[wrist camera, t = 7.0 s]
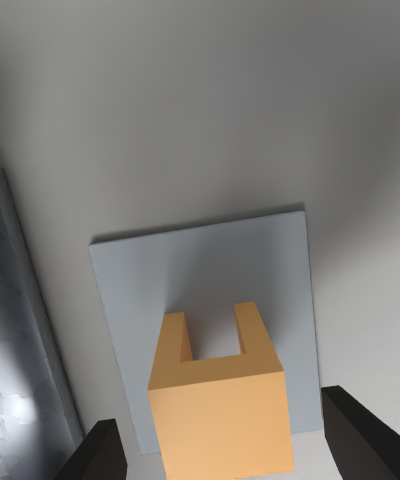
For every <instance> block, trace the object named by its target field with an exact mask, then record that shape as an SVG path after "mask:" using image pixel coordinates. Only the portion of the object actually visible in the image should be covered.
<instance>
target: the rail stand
mask: <svg viewBox="0 0 400 480" xmlns="http://www.w3.org/2000/svg"><path fill="white" fill-rule="evenodd" d="M83 440H84V436H83V432H82V429H81V426H80V422H79V419H78V416H77V412H76V409H75V406H74V402H73V399H72V396H71V393H70V389H69V386H68V383H67V379H66V376H65V373H64V369H63V366H62V363H61V360H60V356H59V353H58V350H57V346H56V343H55V340H54V336H53V333H52V330H51V326H50V323H49V320H48V317H47V313H46V310H45V307H44V303H43V300H42V297H41V293H40V290H39V287H38V284H37V280H36V277H35V274H34V270H33V267H32V264H31V260H30V257H29V254H28V250H27V247H26V244H25V241H24V237H23V234H22V231H21V227H20V224H19V221H18V217H17V214H16V211H15V208H14V204H13V201H12V198H11V194H10V191H9V188H8V184H7V181H6V178H5V174H4V171H3V168H0V480H53V479H54V478H55V476H56V475H57V474H58V472H59V471H60V470H61V469H62V467H63V466H64V465H65V464H66V462H67V461H68V460H69V458H70V457H71V456H72V454H73V453H74V452H75V450H76V449H77V448H78V447H79V445H80V444H81V443H82V441H83Z"/></svg>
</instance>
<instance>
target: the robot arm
mask: <svg viewBox="0 0 400 480" xmlns="http://www.w3.org/2000/svg"><path fill="white" fill-rule="evenodd" d="M321 395H322V407H323V419H324V431H325V438H326V441H327V443H328V446H329V448H330V451H331V453H332V456H333V458H334V461H335V463H336V466H337V468H338V470H339V472H340V474H341V476H342V478H343V480H400V435H399V434H398V433H396V432H395V431H394V430H392V429H391V428H390V427H389V426H387V425H386V424H385V423H384V422H382V421H381V420H380V419H379V418H377V417H376V416H375V415H374V414H372V413H371V412H370V411H369V410H368V409H366V408H365V407H364V406H363V405H362V404H361V403H359V402H358V401H357V400H356V399H355V398H353V397H352V396H351V395H350V394H349V393H348V392H346V391H345V390H344V389H343V388H342V387H340V386H339V385H337V386H330V387H323V388H321ZM127 466H128V465H127V461H126V458H125V454H124V450H123V446H122V443H121V439H120V435H119V431H118V428H117V424H116V420H115V419H108V420H101V421H98V422H97V423H96V424H95V426H94V427H93V428H92V429H91V431H90V432H89V433H88V435H87V436H86V437H85V439H84V440H83V441H82V443H81V444H80V445H79V447H78V448H77V449H76V450H75V452H74V453H73V454H72V456H71V457H70V458H69V460H68V461H67V462H66V464H65V465H64V466H63V467H62V469H61V470H60V471H59V472H58V474H57V475H56V476H55V478H54V479H53V480H126V474H127Z"/></svg>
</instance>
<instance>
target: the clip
mask: <svg viewBox="0 0 400 480" xmlns="http://www.w3.org/2000/svg"><path fill="white" fill-rule="evenodd" d="M233 305H234V313H235V320H236V327H237V334H238V341H239V348H240V354H238V355H231V356H224V357H217V358H210V359H203V360H196V361H193V357H192V351H191V346H190V340H189V335H188V329H187V324H186V318H185V313H184V312H177V313H170V314H164V316H163V321H162V325H161V330H160V334H159V339H158V343H157V348H156V352H155V357H154V361H153V366H152V370H151V375H150V379H149V384H148V388H147V393H148V398H149V402H150V406H151V411H152V415H153V420H154V424H155V428H156V433H157V437H158V442H159V446H160V450H161V455H162V459H163V464H164V468H165V472H166V477H167V480H232V479H239V478H247V477H254V476H262V475H269V474H277V473H284V472H291V471H295V470H294V461H293V451H292V442H291V432H290V423H289V413H288V403H287V394H286V384H285V375H284V370H283V367H282V365H281V363H280V360H279V358H278V356H277V353H276V351H275V349H274V347H273V344H272V342H271V340H270V337H269V335H268V333H267V330H266V328H265V326H264V323H263V321H262V319H261V316H260V314H259V312H258V309H257V307H256V305H255V303H254V301H251V302H245V303H238V304H233Z"/></svg>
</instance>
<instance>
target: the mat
mask: <svg viewBox="0 0 400 480" xmlns="http://www.w3.org/2000/svg"><path fill="white" fill-rule="evenodd" d="M88 250H89V254H90V258H91V262H92V265H93V269H94V273H95V277H96V281H97V285H98V289H99V293H100V297H101V301H102V305H103V309H104V313H105V317H106V320H107V324H108V328H109V332H110V336H111V340H112V344H113V348H114V352H115V356H116V360H117V364H118V368H119V372H120V376H121V379H122V383H123V387H124V391H125V395H126V399H127V403H128V407H129V411H130V415H131V419H132V423H133V427H134V431H135V434H136V438H137V442H138V446H139V450H140V454H141V455H147V454H154V453H161V450H160V446H159V442H158V437H157V433H156V428H155V424H154V420H153V415H152V411H151V406H150V402H149V398H148V393H147V388H148V384H149V379H150V375H151V370H152V366H153V361H154V357H155V352H156V348H157V343H158V339H159V334H160V330H161V325H162V321H163V316H164V314H170V313H177V312H184V313H185V318H186V324H187V329H188V335H189V340H190V346H191V351H192V357H193V361H196V360H203V359H210V358H217V357H224V356H231V355H238V354H240V348H239V341H238V334H237V327H236V320H235V313H234V305H233V304H238V303H245V302H251V301H254V303H255V305H256V307H257V309H258V312H259V314H260V316H261V319H262V321H263V323H264V326H265V328H266V330H267V333H268V335H269V337H270V340H271V342H272V344H273V347H274V349H275V351H276V353H277V356H278V358H279V360H280V363H281V365H282V367H283V370H284V375H285V384H286V394H287V403H288V413H289V423H290V432H291V434H295V433H302V432H309V431H316V430H323V426H322V413H321V401H320V389H319V377H318V364H317V352H316V340H315V327H314V315H313V303H312V291H311V278H310V266H309V254H308V241H307V229H306V217H305V211H303V210H299V211H293V212H286V213H280V214H274V215H268V216H261V217H255V218H249V219H243V220H236V221H230V222H224V223H218V224H212V225H205V226H199V227H193V228H187V229H180V230H174V231H168V232H162V233H155V234H149V235H143V236H137V237H130V238H124V239H118V240H112V241H105V242H99V243H93V244H90V245H88Z"/></svg>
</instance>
